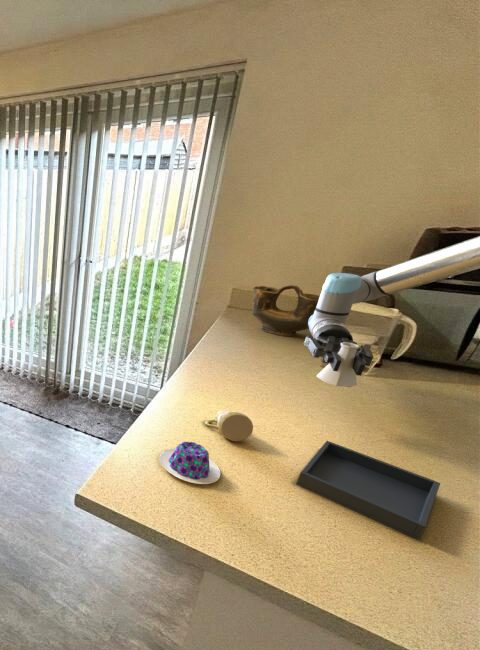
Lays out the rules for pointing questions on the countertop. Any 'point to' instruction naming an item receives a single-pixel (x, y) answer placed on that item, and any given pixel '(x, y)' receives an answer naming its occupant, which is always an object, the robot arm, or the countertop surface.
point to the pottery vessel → (280, 319)
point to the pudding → (190, 463)
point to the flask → (342, 368)
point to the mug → (232, 425)
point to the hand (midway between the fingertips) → (348, 367)
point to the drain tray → (371, 488)
